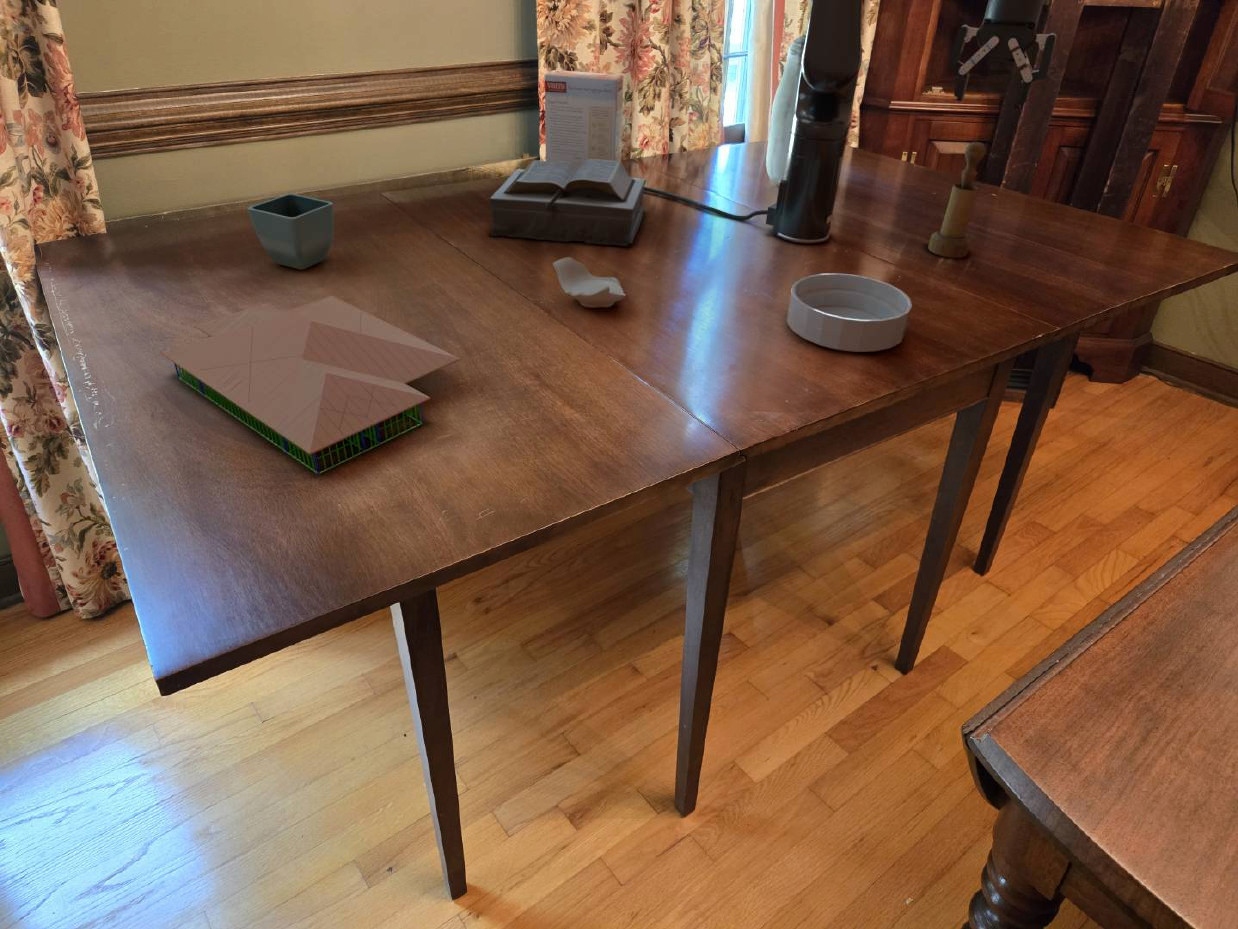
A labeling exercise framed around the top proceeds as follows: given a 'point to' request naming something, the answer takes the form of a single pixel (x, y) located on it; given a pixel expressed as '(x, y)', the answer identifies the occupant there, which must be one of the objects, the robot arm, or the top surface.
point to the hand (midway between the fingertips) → (987, 103)
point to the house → (311, 372)
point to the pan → (848, 312)
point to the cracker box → (583, 116)
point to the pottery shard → (587, 284)
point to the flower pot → (294, 229)
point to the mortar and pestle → (959, 210)
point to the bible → (570, 203)
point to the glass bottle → (784, 112)
